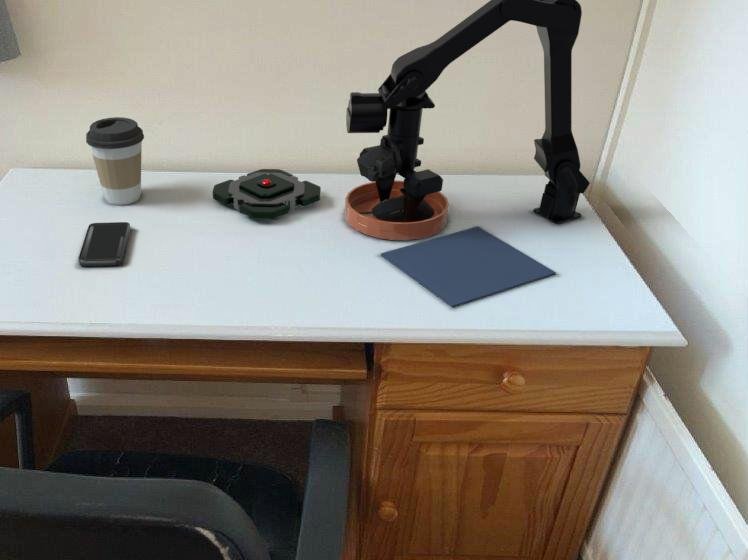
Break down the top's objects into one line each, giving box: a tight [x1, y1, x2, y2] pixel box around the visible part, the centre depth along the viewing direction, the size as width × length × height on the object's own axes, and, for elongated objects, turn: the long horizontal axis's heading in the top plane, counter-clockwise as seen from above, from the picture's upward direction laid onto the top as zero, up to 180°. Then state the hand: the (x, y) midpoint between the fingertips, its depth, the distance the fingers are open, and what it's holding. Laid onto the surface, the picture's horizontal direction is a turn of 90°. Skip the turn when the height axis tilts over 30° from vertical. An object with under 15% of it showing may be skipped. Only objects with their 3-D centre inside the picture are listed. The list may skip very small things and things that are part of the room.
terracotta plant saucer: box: [344, 179, 450, 241], centre depth 148 cm, size 19×19×4 cm
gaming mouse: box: [358, 195, 435, 222], centre depth 148 cm, size 6×15×4 cm, turn 86°
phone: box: [77, 221, 132, 268], centre depth 141 cm, size 8×1×15 cm
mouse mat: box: [380, 226, 557, 308], centre depth 134 cm, size 22×20×1 cm
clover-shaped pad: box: [211, 168, 321, 220], centre depth 155 cm, size 18×18×5 cm
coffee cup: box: [85, 116, 145, 206], centre depth 154 cm, size 11×11×15 cm
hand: (394, 212), depth 148 cm, fingers closed on gaming mouse, 7 cm apart
